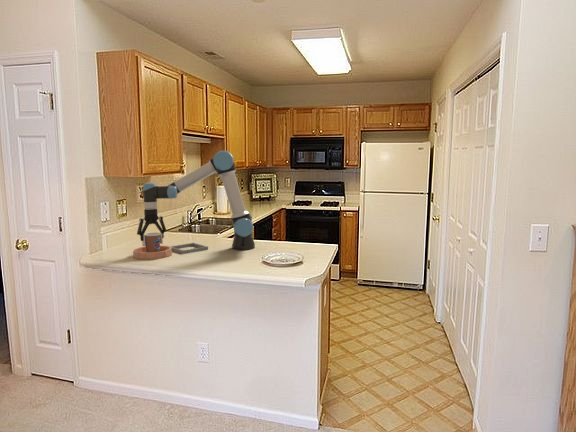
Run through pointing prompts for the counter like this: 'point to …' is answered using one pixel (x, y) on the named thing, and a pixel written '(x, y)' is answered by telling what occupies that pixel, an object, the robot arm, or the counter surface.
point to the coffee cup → (152, 242)
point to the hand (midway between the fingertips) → (152, 244)
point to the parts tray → (200, 248)
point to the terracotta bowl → (152, 253)
